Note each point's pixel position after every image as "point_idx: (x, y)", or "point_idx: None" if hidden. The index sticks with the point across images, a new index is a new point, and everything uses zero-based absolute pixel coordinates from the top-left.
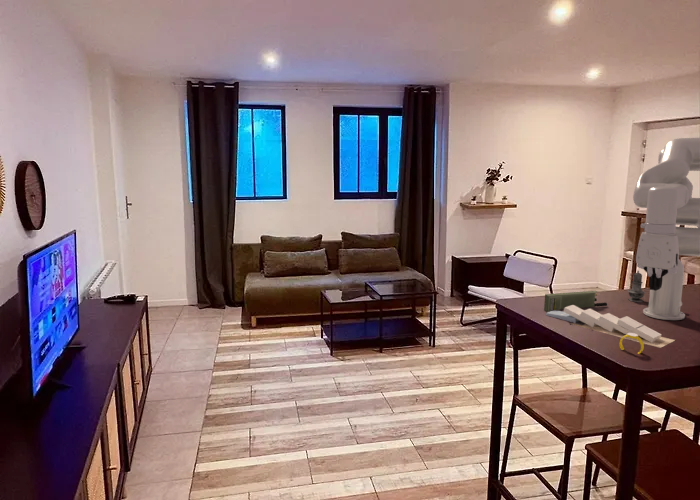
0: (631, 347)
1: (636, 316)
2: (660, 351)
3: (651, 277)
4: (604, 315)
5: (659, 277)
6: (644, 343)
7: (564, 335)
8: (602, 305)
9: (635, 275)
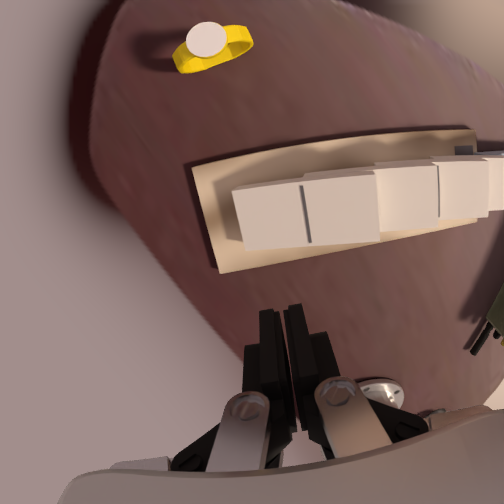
0: (255, 106)
1: (401, 358)
2: (187, 160)
3: (309, 373)
4: (433, 188)
5: (235, 398)
6: (243, 157)
7: (425, 37)
8: (476, 341)
9: None
